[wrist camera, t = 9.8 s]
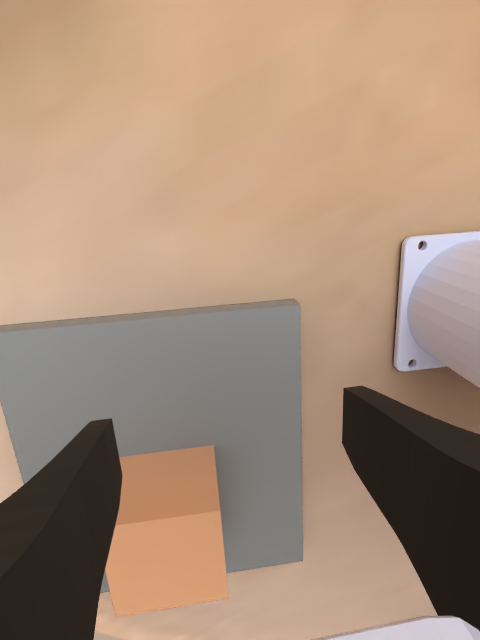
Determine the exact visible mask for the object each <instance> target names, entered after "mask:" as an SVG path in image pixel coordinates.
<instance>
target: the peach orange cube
mask: <svg viewBox="0 0 480 640" xmlns="http://www.w3.org/2000/svg"><path fill="white" fill-rule="evenodd" d="M119 459H120V464H121V470H122V475H123V476H122V487H121V497H120V506H119V511H118V516H117V520H116V525H115V529H114V534H113V538H112V542H111V546H110V551H109V555H108V559H107V563H106V568H105V571H106V575H107V580H108V584H109V589H110V593H111V598H112V602H113V607H114V611H115V616H116V617H119V616H125V615H132V614H138V613H144V612H150V611H156V610H162V609H168V608H174V607H180V606H186V605H192V604H198V603H204V602H210V601H216V600H222V599H228V598H229V597H228V586H227V576H226V565H225V554H224V544H223V533H222V523H221V512H220V502H219V492H218V482H217V473H216V463H215V453H214V445H211V446H203V447H195V448H187V449H179V450H172V451H164V452H156V453H148V454H140V455H132V456H124V457H119Z"/></svg>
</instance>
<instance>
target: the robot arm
mask: <svg viewBox="0 0 480 640" xmlns="http://www.w3.org/2000/svg"><path fill="white" fill-rule="evenodd" d="M421 241H423V246H422V248H421V249H418V244H419V243H420V242H421ZM412 359H413V362H412V363H411V364H409V365H408V363H409V361H410V360H412ZM394 366H395V368H396V369H397V370H399V371H402V372H404V371H413V370H422V369H431V368H440V367H449V368H450V369H452V370H453V371H455V372H456V373H458V374H459V375H461V376H462V377H464V378H465V379H467V380H468V381H469V382H471V383H472V384H474V385H475V386H477V387H478V388H480V231H471V232H458V233H446V234H433V235H420V236H410V237H407V238H406V239H405V240H404V241H403V243H402V250H401V265H400V279H399V293H398V308H397V322H396V336H395V351H394ZM342 444H343V446H344V448H345V450H346V452H347V455H348V457H349V459H350V461H351V463H352V465H353V467H354V469H355V471H356V473H357V474H358V476H359V478H360V479H361V481H362V482H363V484H364V485H365V487H366V488H367V490H368V492H369V493H370V495H371V496H372V498H373V499H374V501H375V502H376V504H377V505H378V507H379V508H380V510H381V512H382V513H383V515H384V516H385V518H386V519H387V521H388V522H389V524H390V525H391V527H392V528H393V530H394V532H395V533H396V535H397V537H398V538H399V540H400V542H401V543H402V545H403V547H404V549H405V551H406V553H407V555H408V556H409V558H410V560H411V562H412V564H413V566H414V568H415V570H416V572H417V574H418V576H419V578H420V580H421V582H422V584H423V586H424V588H425V590H426V592H427V594H428V596H429V598H430V600H431V602H432V604H433V606H434V608H435V610H436V612H437V614H438V616H422V617H417V618H413V619H408V620H403V621H398V622H393V623H389V624H384V625H379V626H374V627H370V628H365V629H360V630H355V631H350V632H346V633H341V634H336V635H331V636H326V637H322V638H317V639H312V640H480V435H479V434H476V433H473V432H470V431H467V430H464V429H461V428H459V427H456V426H453V425H451V424H448V423H446V422H443V421H441V420H438V419H436V418H433V417H431V416H429V415H426V414H424V413H422V412H419V411H417V410H415V409H413V408H411V407H408V406H406V405H404V404H402V403H400V402H398V401H396V400H393V399H391V398H389V397H387V396H385V395H383V394H381V393H378V392H376V391H374V390H372V389H369V388H367V387H364V386H357V387H349V388H344V394H343V432H342ZM122 476H123V475H122V470H121V464H120V459H119V454H118V448H117V443H116V437H115V432H114V427H113V421H112V418H110V419H102V420H95V421H90V422H89V423H88V424H87V425H86V426H85V427H84V428H83V429H82V430H81V431H80V432H79V433H78V434H77V435H76V436H75V437H74V438H73V439H72V440H71V441H70V442H69V443H68V444H67V445H66V446H65V447H64V448H63V449H62V450H61V451H60V452H59V453H58V454H57V455H56V456H55V457H54V458H53V459H52V460H51V461H50V462H49V463H48V464H47V465H45V466H44V467H43V468H42V469H41V470H40V471H39V472H38V473H37V474H35V475H34V476H33V477H32V478H31V479H30V480H29V481H28V482H26V483H25V484H24V485H23V486H22V487H21V488H19V489H18V490H17V491H16V492H15V493H13V494H12V495H11V496H10V497H8V498H7V499H6V500H4V501H3V502H2V503H0V640H93V639H94V631H95V624H96V616H97V608H98V601H99V596H100V591H101V585H102V581H103V576H104V572H105V568H106V563H107V559H108V555H109V551H110V546H111V542H112V538H113V534H114V529H115V525H116V520H117V516H118V511H119V506H120V497H121V487H122Z"/></svg>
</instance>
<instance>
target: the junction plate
mask: <svg viewBox="0 0 480 640" xmlns="http://www.w3.org/2000/svg"><path fill="white" fill-rule="evenodd" d="M0 402H1V405H2V409H3V412H4V416H5V419H6V423H7V426H8V430H9V433H10V437H11V440H12V444H13V447H14V451H15V455H16V458H17V462H18V465H19V469H20V472H21V476H22V479H23V483H24V484H25V483H26V482H28V481H29V480H30V479H31V478H32V477H33V476H34V475H35V474H37V473H38V472H39V471H40V470H41V469H42V468H43V467H44V466H45V465H47V464H48V463H49V462H50V461H51V460H52V459H53V458H54V457H55V456H56V455H57V454H58V453H59V452H60V451H61V450H62V449H63V448H64V447H65V446H66V445H67V444H68V443H69V442H70V441H71V440H72V439H73V438H74V437H75V436H76V435H77V434H78V433H79V432H80V431H81V430H82V429H83V428H84V427H85V426H86V425H87V424H88V423H89V422H90V421H95V420H102V419H110V418H112V421H113V427H114V432H115V437H116V443H117V448H118V454H119V457H124V456H132V455H140V454H148V453H156V452H164V451H172V450H179V449H187V448H195V447H203V446H211V445H214V453H215V463H216V473H217V482H218V492H219V502H220V512H221V523H222V533H223V544H224V554H225V565H226V573H230V572H236V571H242V570H249V569H255V568H261V567H268V566H274V565H280V564H286V563H293V562H299V561H303V526H302V440H301V355H300V304H299V303H298V302H297V301H296V300H295V299H286V300H275V301H265V302H254V303H243V304H232V305H221V306H210V307H199V308H188V309H177V310H166V311H155V312H144V313H134V314H123V315H112V316H101V317H90V318H79V319H68V320H57V321H46V322H35V323H24V324H13V325H3V326H0ZM103 592H110V589H109V584H108V580H107V575H106V571H105V572H104V576H103V581H102V585H101V591H100V593H103Z"/></svg>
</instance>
